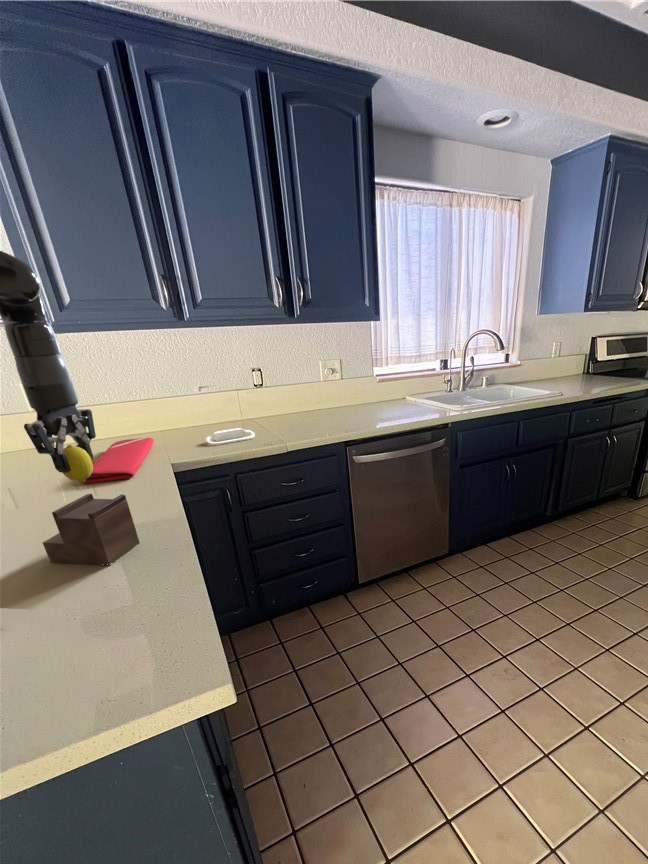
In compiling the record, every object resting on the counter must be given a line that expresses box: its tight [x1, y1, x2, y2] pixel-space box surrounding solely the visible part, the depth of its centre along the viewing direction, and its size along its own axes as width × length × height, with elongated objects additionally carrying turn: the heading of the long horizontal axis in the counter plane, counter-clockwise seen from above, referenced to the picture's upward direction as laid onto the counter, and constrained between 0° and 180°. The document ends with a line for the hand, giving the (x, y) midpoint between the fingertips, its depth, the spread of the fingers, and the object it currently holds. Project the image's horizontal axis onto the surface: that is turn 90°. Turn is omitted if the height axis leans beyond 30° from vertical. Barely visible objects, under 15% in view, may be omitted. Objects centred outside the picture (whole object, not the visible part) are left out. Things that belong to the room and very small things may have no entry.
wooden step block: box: [42, 493, 140, 566], centre depth 93 cm, size 14×10×12 cm
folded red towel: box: [82, 437, 155, 484], centre depth 154 cm, size 16×41×4 cm, turn 17°
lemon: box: [62, 444, 94, 484], centre depth 86 cm, size 6×6×8 cm
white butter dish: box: [205, 427, 256, 446], centre depth 179 cm, size 20×8×4 cm, turn 125°
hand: (76, 466), depth 87 cm, fingers closed on lemon, 5 cm apart
